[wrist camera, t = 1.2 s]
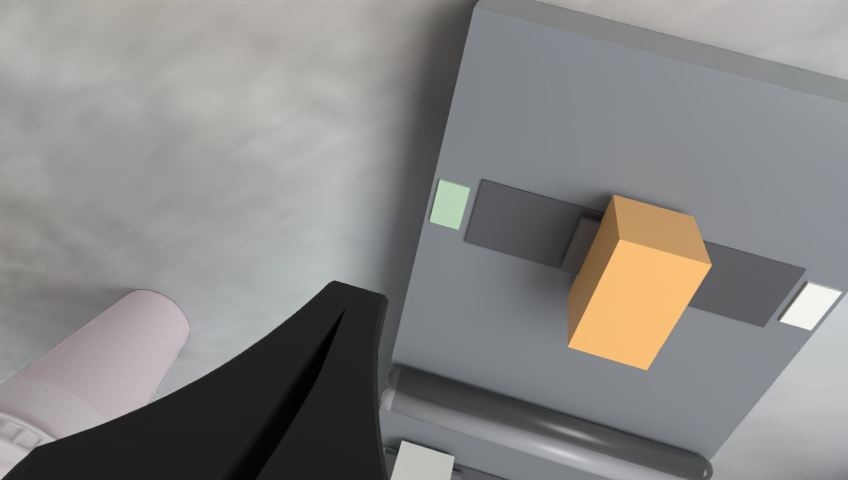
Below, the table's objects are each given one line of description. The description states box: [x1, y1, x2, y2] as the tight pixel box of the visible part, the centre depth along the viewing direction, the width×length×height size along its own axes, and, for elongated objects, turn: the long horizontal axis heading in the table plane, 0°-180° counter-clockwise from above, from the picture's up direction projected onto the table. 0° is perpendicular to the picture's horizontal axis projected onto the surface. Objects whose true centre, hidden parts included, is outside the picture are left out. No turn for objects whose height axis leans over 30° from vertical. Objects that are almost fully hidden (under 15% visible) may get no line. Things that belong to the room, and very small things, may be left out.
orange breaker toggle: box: [560, 195, 712, 370], centre depth 17 cm, size 4×4×3 cm
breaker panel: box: [379, 0, 848, 480], centre depth 22 cm, size 13×24×4 cm, turn 168°
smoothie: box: [0, 290, 190, 480], centre depth 23 cm, size 6×6×14 cm
